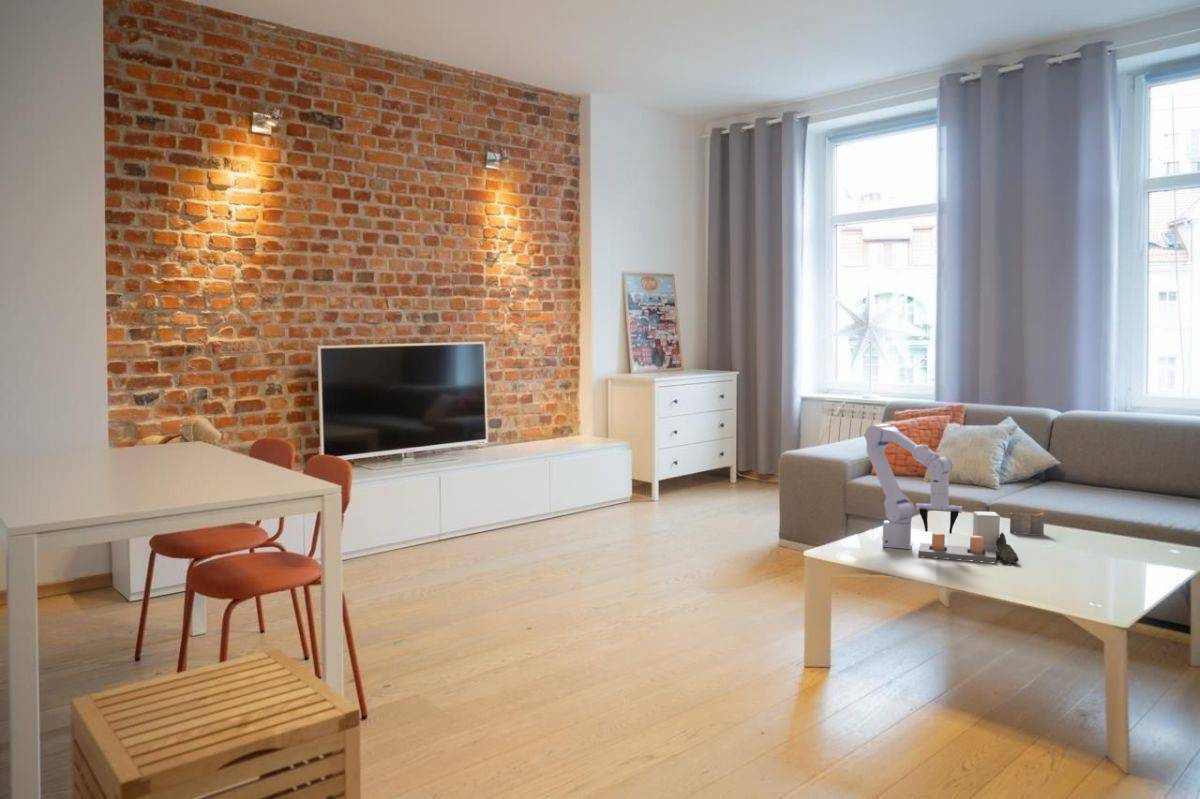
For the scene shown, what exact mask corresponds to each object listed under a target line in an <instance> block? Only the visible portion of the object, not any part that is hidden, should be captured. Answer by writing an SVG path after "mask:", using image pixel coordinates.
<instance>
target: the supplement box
mask: <svg viewBox="0 0 1200 799" xmlns="http://www.w3.org/2000/svg"><path fill="white" fill-rule="evenodd" d="M972 516H973V519H972V521H973V522H972V536H981V537H983V548H987V549H996V551H998V549H997V545H996V541H997V539H998V538H999V537H1000V525H1001V524H1000V523H1001V520H1000V519H1001V515H999V514H998V513H997V512H995V511H973V515H972Z"/></svg>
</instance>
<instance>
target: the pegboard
mask: <svg viewBox="0 0 1200 799" xmlns="http://www.w3.org/2000/svg"><path fill="white" fill-rule="evenodd" d="M917 551H918V553H917V554H918V556H924V557H923V558H927V557H937V558H936V559H938V558H949V559H961V560H973V561H983V562H994V563H993V564H995V563H996V564H997V552H996V549H987V548H983V554H975V553H970V546H963V545H962V546H961V545H959V546H958V545H952V544H951V545H950V544H945V546H944V551H939V550H932V543H924V542H923V543H922V542H920V544H919V548H918V550H917ZM949 559H948V560H949ZM961 560H960V561H961ZM983 562H982V563H983Z"/></svg>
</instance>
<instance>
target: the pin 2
mask: <svg viewBox="0 0 1200 799" xmlns="http://www.w3.org/2000/svg"><path fill="white" fill-rule="evenodd" d="M969 539H970V540H969V547H970V553H975V554H983V537H981V536H973V535H970V538H969Z"/></svg>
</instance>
